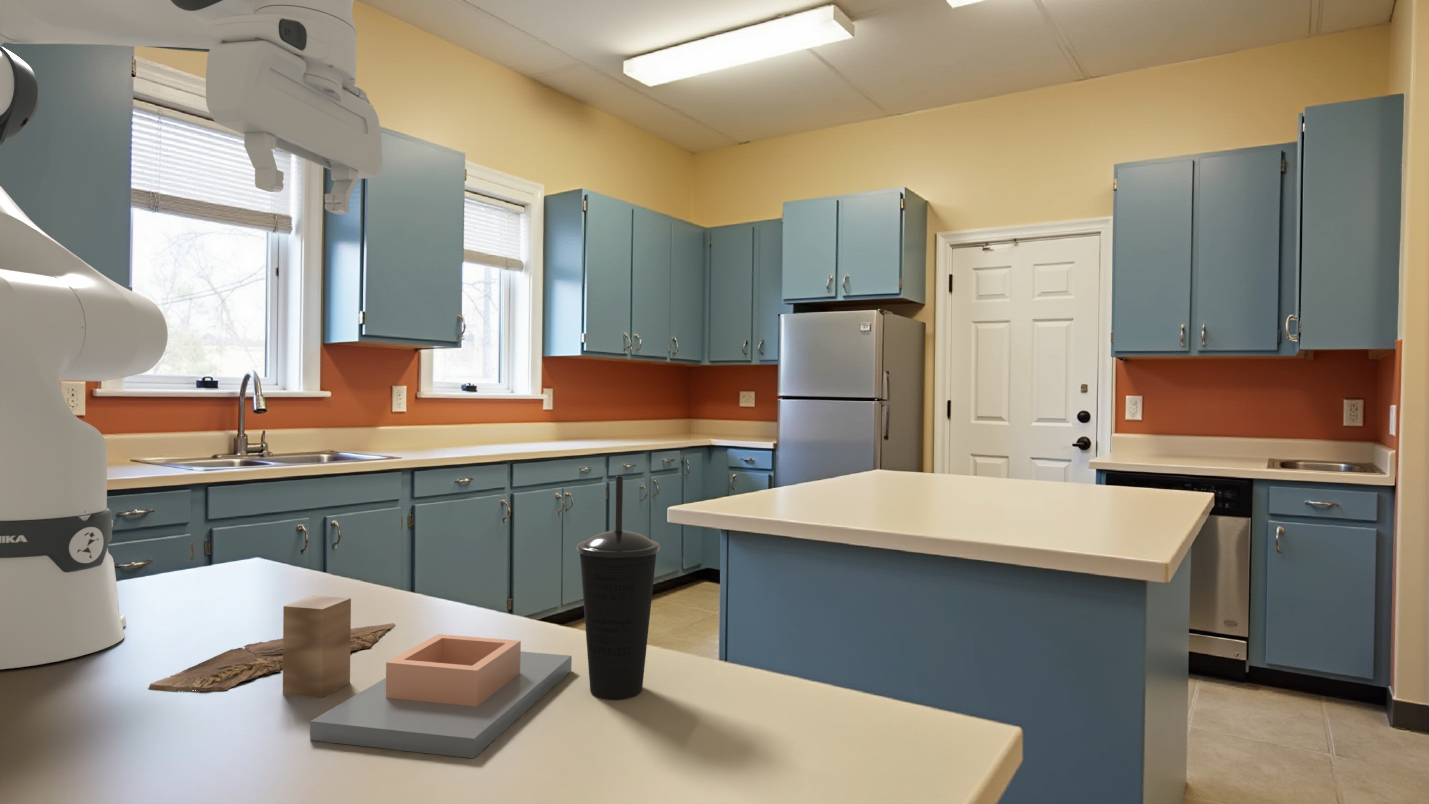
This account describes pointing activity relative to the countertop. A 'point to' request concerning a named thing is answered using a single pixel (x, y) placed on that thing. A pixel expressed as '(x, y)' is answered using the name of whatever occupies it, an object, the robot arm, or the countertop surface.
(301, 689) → the brown wooden block
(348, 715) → the stand
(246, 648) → the wooden fragment
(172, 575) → the countertop surface
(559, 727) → the countertop surface
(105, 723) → the countertop surface
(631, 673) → the drinking cup
